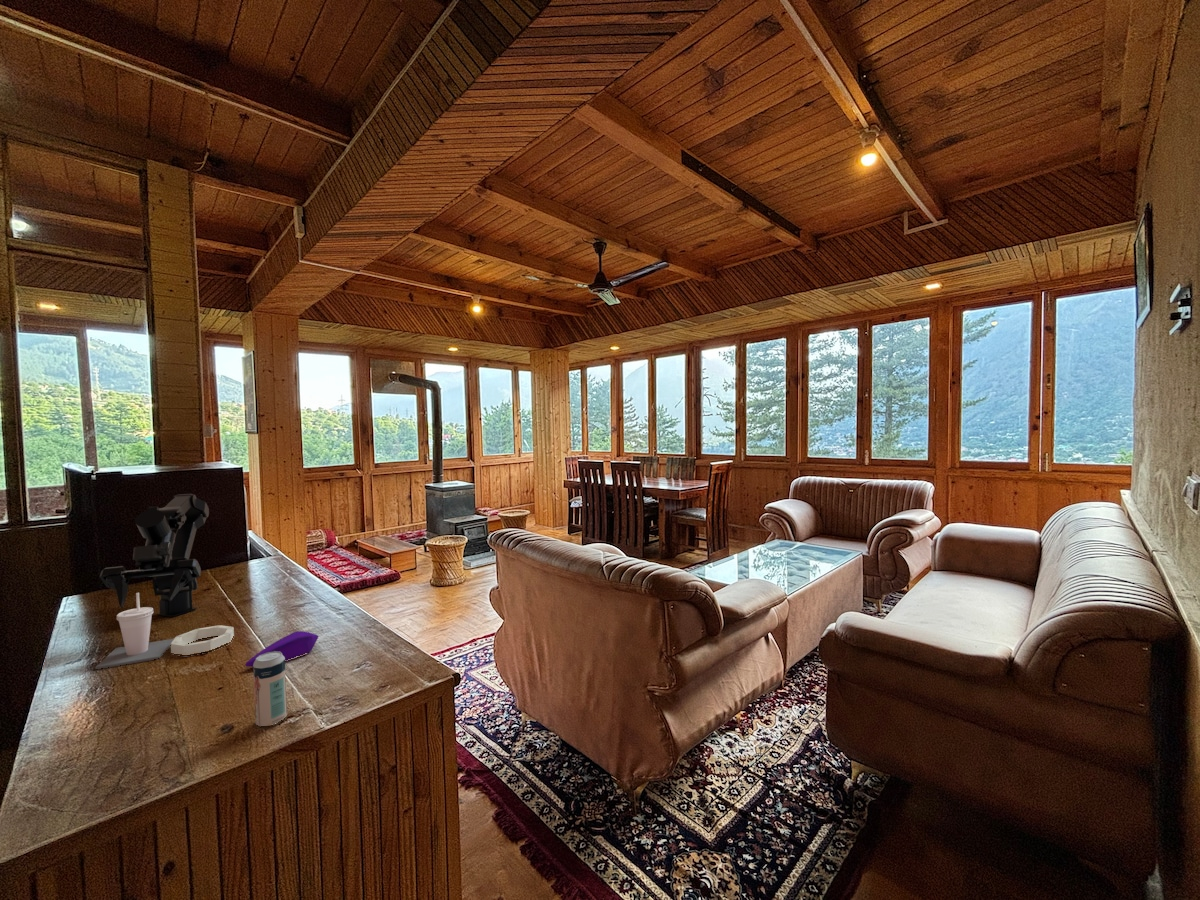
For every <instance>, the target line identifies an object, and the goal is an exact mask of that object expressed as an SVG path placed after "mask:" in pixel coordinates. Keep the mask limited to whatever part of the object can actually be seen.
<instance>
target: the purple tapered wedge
mask: <svg viewBox="0 0 1200 900" xmlns="http://www.w3.org/2000/svg"><path fill="white" fill-rule="evenodd" d="M318 639H319V635H317V634H315V633H313V632H308V631H301V630H300V631H294V632H292V633H290V634H288V635H286V636H283V637H282V638H280V639H278V640H276V641H274V642H272V644H269V645H268V646H267V647H265V648H264V649H262V650H261V651H259V652H258V653H257V654H256V655H253V656H252V657H251V658H250V659H248V661H246V663H245V664H244V665H245V667H253V664H254V662H255V660H256V658H257V657H258V656H260V655H262V654H265V653H268V652H274V651H277V652H281V653H282V655H283V656H284V657H285V660H288V659H291V658H294V657H296V656H300V655H303V654H305V653H308V652H309V653H310V652H311V651H312V650H313V648H314V646H315V644H316V643H317V640H318ZM309 653H308V654H309Z"/></svg>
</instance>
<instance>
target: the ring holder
mask: <svg viewBox="0 0 1200 900" xmlns="http://www.w3.org/2000/svg"><path fill="white" fill-rule="evenodd" d="M211 636H218V637H213V638H210V639H208V638H207V637H211ZM233 636H234V637H235V628H234V626H230V625H229V626H228V625H221V624H220V625H212V626H206V627H201V628H200V627H199V628H195V629H193V630H190V631H188V632H184V633H182V634H179V635H176V636H175V637H174V638H173V639H174V640H173V641H172V643H171V646H170V654H171V653H174V654H182V655H190V654H194V653H201V652H205V651H209V650H212V649H215V648H217V647H220V646H221V645H224V644H226V643H229V642H231V640H232V638H233ZM202 638H207V639H208V640H203V639H202ZM198 639H201V640H203V641H199V640H198ZM233 639H234V638H233ZM196 640H197V641H196ZM193 641H194V642H193ZM232 641H233V640H232ZM191 642H192V643H191ZM188 643H189V644H188ZM231 643H232V642H231ZM174 654H173V655H174Z"/></svg>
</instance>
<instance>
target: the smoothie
mask: <svg viewBox="0 0 1200 900" xmlns="http://www.w3.org/2000/svg"><path fill="white" fill-rule="evenodd" d="M135 598H136V599H135V601H136V607H135V608H131V609H127V610H124V611H121V612H119V613H117V615H116V621H118V625H119V627H120V631H121V637H122V640H123V645H124V647H125V649H126V654H127V655H137V654H140V653H143V652H146V651H147V650H148V644H149V643H150V636H151V634H150V633H151V625H152V616H153V614H154V608H153V607H152V606H151V607H150V606H144V607H141V603H140V601H141V600H140V592H136V593H135Z"/></svg>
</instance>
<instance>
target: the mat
mask: <svg viewBox="0 0 1200 900" xmlns="http://www.w3.org/2000/svg"><path fill="white" fill-rule="evenodd" d="M174 639H175V638H169V639H163V640H158V641H149V644H148V650H147V651H146V652H143V653H140V654H137V655H127V654H126V649H125V646H120V647H119V646H118V647H115V648H114V649H113V650H112V651H111V652H110V653H109V654H108V655H107V656H106V657H104V659H103V660H100V662H99V663H98V664H97V665H96V666H95V667H94V668H95V669H98V670H102V669H101V668H103V669H109V668H115V667H120V665H121V666H126V664H127V665H131V664H136V663H137V664H138V663H143V662H149V661H150V662H151V661H155V660H154V659H156V660H159V659H158V658H160V657H161V656H162V657H163V655H164V654H165V653H166V652H167V651H168V650H169V649H170V648H171V646H170V645H171V643H172V641H173V640H174ZM166 650H167V651H166ZM165 651H166V652H165ZM164 652H165V653H164ZM163 653H164V654H163ZM162 657H161V658H162ZM161 658H160V659H161ZM108 667H109V668H108Z"/></svg>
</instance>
